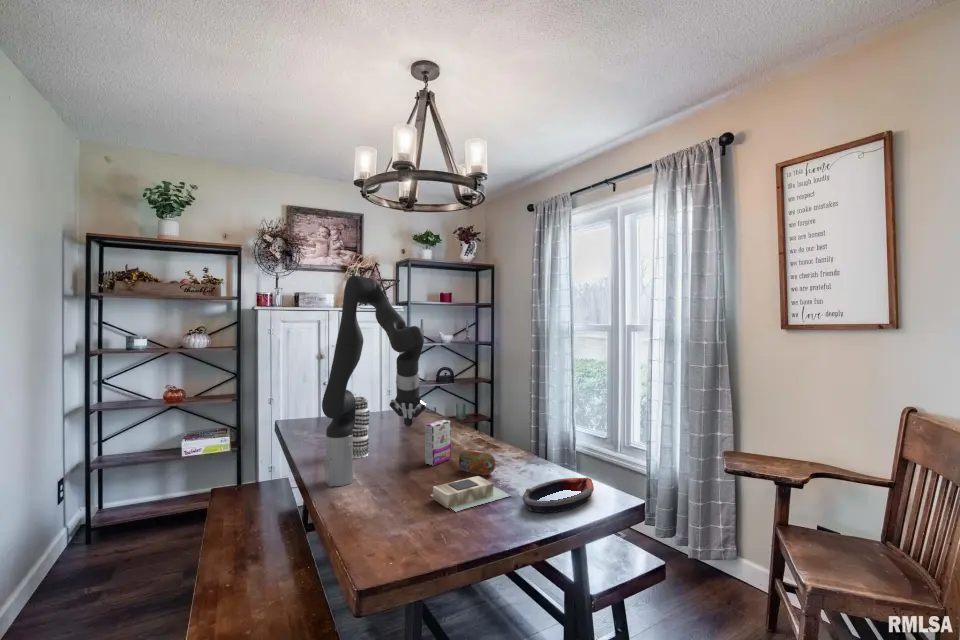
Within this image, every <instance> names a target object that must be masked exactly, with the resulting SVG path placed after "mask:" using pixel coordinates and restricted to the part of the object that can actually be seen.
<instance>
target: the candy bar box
mask: <svg viewBox="0 0 960 640" xmlns="http://www.w3.org/2000/svg"><path fill="white" fill-rule="evenodd" d="M451 423H452V422H451V420H447V419H440V420H436V421H434V422H433V421H432V422H430V423H426V424H424V448H425V450H424V454H425V455H424V456H425V457H424V460H425V461H424V462H425V465H427V464H429V465H428V466H431V465H432V466H433V467H435V466H437V464H438V465H440V464H443V463H444V462H448V461H450V460H452V439H451V437H452V434H451V432H452V431H451V430H452V428H451V427H452V425H451ZM447 460H448V461H447ZM442 462H443V463H442ZM439 463H440V464H439ZM434 465H435V466H434Z"/></svg>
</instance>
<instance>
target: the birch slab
mask: <svg viewBox="0 0 960 640" xmlns="http://www.w3.org/2000/svg"><path fill="white" fill-rule="evenodd" d="M493 486H494V483H493V482H491V481H489V480H487V479H485V478H484V477H481V476H479V475H477V476H472V477H467V478H464V479H459V480H456V481H451V482H447V483H443V484H438V485H434V486H432V494H433V497H432V500H434V501H435V502H437V503H438V504H440V505H441V506H443V507H444V508H446V509H449V508H450V507H453V506H457V505H461V504H464V503H468V502H471V501H475V500H479V499H482V498H486V497H490V496H493Z"/></svg>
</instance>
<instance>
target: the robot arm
mask: <svg viewBox="0 0 960 640" xmlns="http://www.w3.org/2000/svg"><path fill="white" fill-rule="evenodd" d="M358 303H359V304H369V305H371V306H373V308H374V309H375V319H376V321H377V323H378V324H379V326H380V327H381V328H382V329H383V330H384V331H385V333H386V335H387V339H388V340H389V344H390V346H391V348H392V350H393V351H394V352H397V353H400V354H399V355H398V356H397V357H396V376H395V377H396V378H395V385H396V387H395V388H396V396H395V398H394V399H391V400H390V402H389V407H390V408H391V409H392V410H393V412H395V414H396V415H397V416H399V417H403V424H404V426H405V427H411V426H412V425H413V423H414V418H417V417H419V415H421V413H423V412H424V410H426V408H427V405H428V402H426V401H422V398H421V395H420V373H419V360H420V358H421V354H422V351H423V347H424V344H425V343H424V342H425V336H424V332H423V331H422V329H421V327H419V326H416V325H411V326H408V327H406V326H407V325H406V320H405V319H404V318H403V317H402V316H401V315H400V314H399V312H398V311H397V310H396V309H395V308H394V307H393V306H392V304H391V303H390V301H389V299H388V298H387V296H386V294H385V293H384V291H383V289H382V288H381V286H380V284H379V283H378V282H377V280H375V279H373V278H370V277H364V276H360V275H351V276H349V277H348V278H347V280H346V283H345V286H344V291H343V301H342V310H341V317H340V323H339V330H338V333H337V338H336V343H335V348H334V352H333V358H332V363H331V367H330V368H331V369H330V374H329V378H328V381H327V384H326V388H325V391H324V394H323V397H322V402H321V409H322V412H323V415H324V416H325V417H326V418H329V419H331V421H330V424H329V425H328V426H326V431H325V434H326V435H325V437H326V438H325V439H326V441H325V442H326V443H325V445H326V446H325V451H326V452H325V453H326V455H324V483H325V484H326V485H327V486H328V487H329V488H330V487H342V486H346V485H349V484H351V483H353V480H354V472H353V471H354V470H353V467H354V465H353V464H354V458H353V428H354V425H355V413H356V402H355V397H356V396H355V395H354V394H353V392H352V391H350V390H349V389H347V387H348V383H349V381H350V378H351V376H352V374H353V373H354V371H355V369H356V368H357V366H358V364H359V362H360V359H361V356H362V351H363V345H364V336H363V333H362V332H363V331H362V329H361V328H360V324H359V321H358V318H357V313H358V312H357V310H358V305H359V304H358ZM417 407H418V408H417ZM414 410H415V411H414Z"/></svg>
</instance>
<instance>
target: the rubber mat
mask: <svg viewBox="0 0 960 640" xmlns="http://www.w3.org/2000/svg"><path fill="white" fill-rule="evenodd" d="M508 495H509V496H511V497H512V495H511V494H510V493H507V492H505V491H503V490H501V489H500V488H497V487H495V486H494V485H493V496H490V497H486V498H482V499H479V500H475V501H471V502H468V503H464V504H461V505H457V506H453V507H450V508H451V509H452V510H454V511H455V512H456V513H458V512H457V511H460V510H463V509H466V508H470V507H474V506H477V505H481V504H484V505H486V504H485V503H488V502H491V503H493V502H492V501H495V500H498V499H502V498H505V497H508ZM430 497H432V498H433V493H432V494H430ZM505 499H506V498H505ZM502 500H503V499H502ZM498 501H499V500H498ZM495 502H496V501H495ZM488 504H489V503H488ZM481 506H482V505H481ZM477 507H478V506H477ZM474 508H475V507H474ZM451 509H450V510H451ZM470 509H471V508H470ZM452 510H451V511H452ZM454 511H453V512H454ZM463 511H464V510H463ZM455 512H454V513H455ZM460 512H461V511H460Z"/></svg>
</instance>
